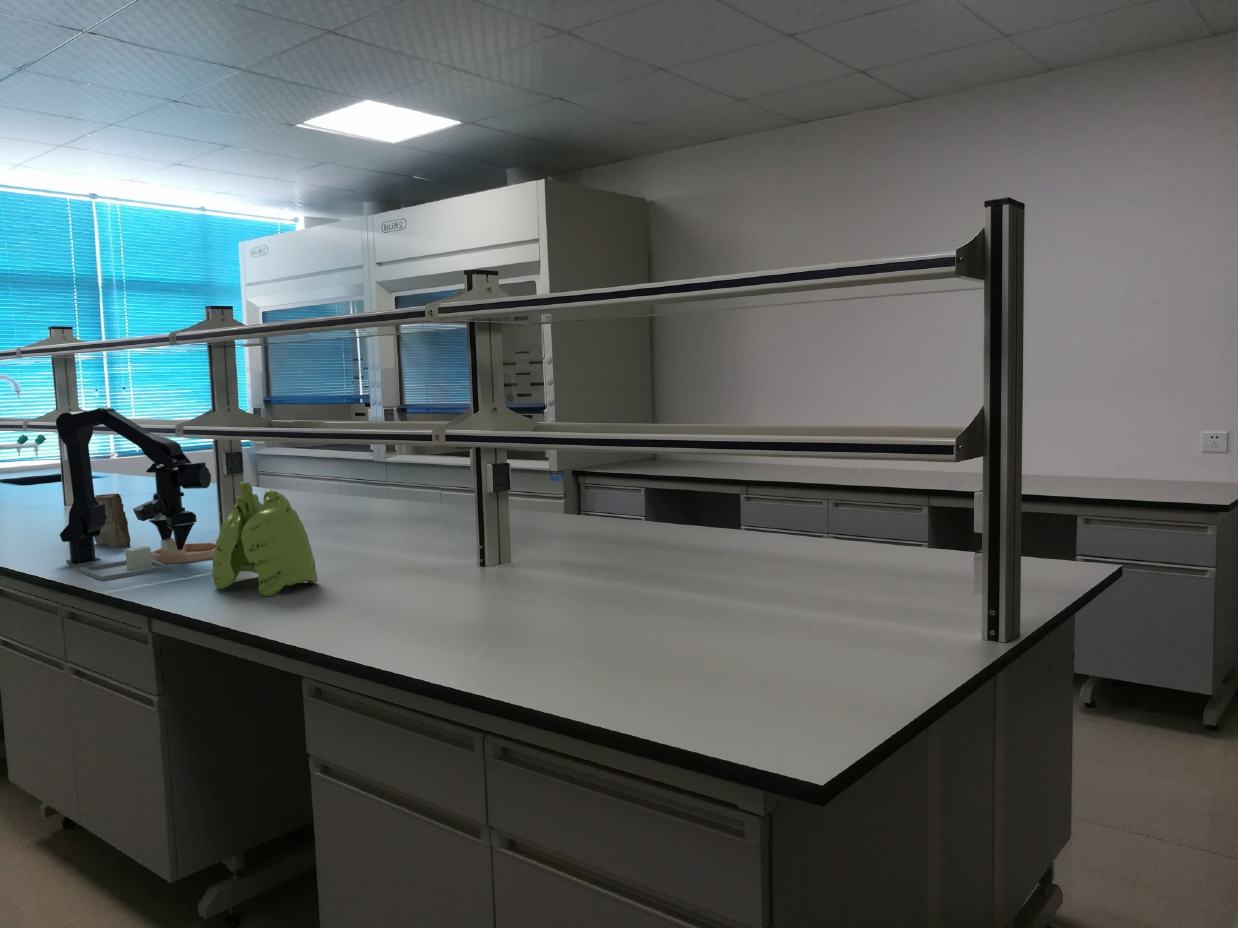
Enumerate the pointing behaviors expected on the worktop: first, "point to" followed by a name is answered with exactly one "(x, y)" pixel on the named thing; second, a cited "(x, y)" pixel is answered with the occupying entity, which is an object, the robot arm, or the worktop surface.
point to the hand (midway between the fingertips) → (173, 547)
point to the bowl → (192, 553)
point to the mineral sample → (113, 522)
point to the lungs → (263, 543)
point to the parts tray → (119, 570)
